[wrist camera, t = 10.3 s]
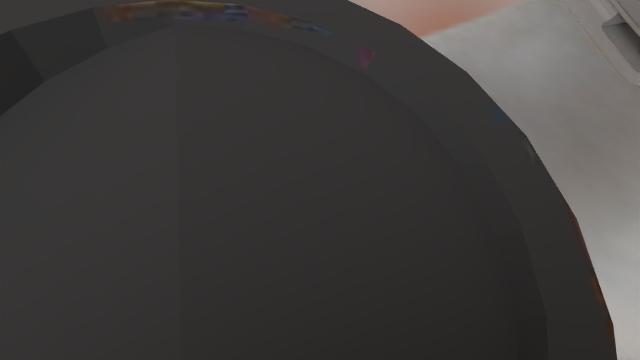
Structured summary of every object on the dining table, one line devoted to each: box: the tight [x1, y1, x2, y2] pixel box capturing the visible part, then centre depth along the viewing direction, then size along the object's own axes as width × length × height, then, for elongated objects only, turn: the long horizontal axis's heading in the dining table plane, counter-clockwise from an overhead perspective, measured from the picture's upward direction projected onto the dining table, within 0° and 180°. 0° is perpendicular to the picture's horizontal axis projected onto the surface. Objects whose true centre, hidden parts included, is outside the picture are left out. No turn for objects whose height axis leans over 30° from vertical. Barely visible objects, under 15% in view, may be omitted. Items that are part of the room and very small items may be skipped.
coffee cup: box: [0, 0, 617, 360], centre depth 10 cm, size 8×8×15 cm
